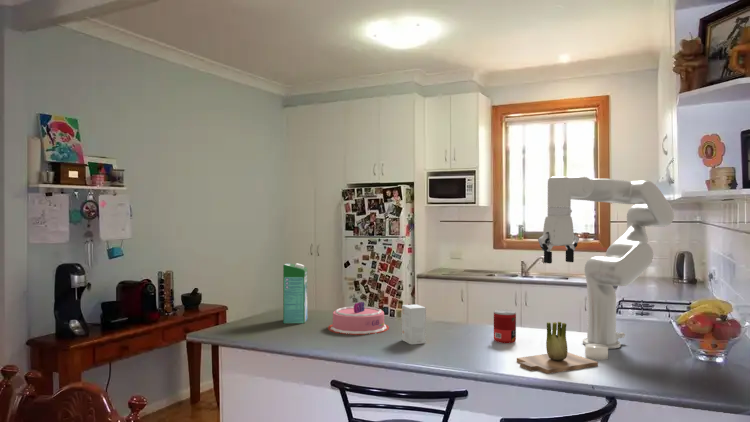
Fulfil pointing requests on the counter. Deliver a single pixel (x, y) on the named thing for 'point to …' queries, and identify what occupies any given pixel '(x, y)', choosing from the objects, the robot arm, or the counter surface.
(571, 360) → the board
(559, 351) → the fennel bulb
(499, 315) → the canned food
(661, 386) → the counter surface
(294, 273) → the milk carton
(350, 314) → the cake
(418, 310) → the small box
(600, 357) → the white rounded block
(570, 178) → the robot arm
